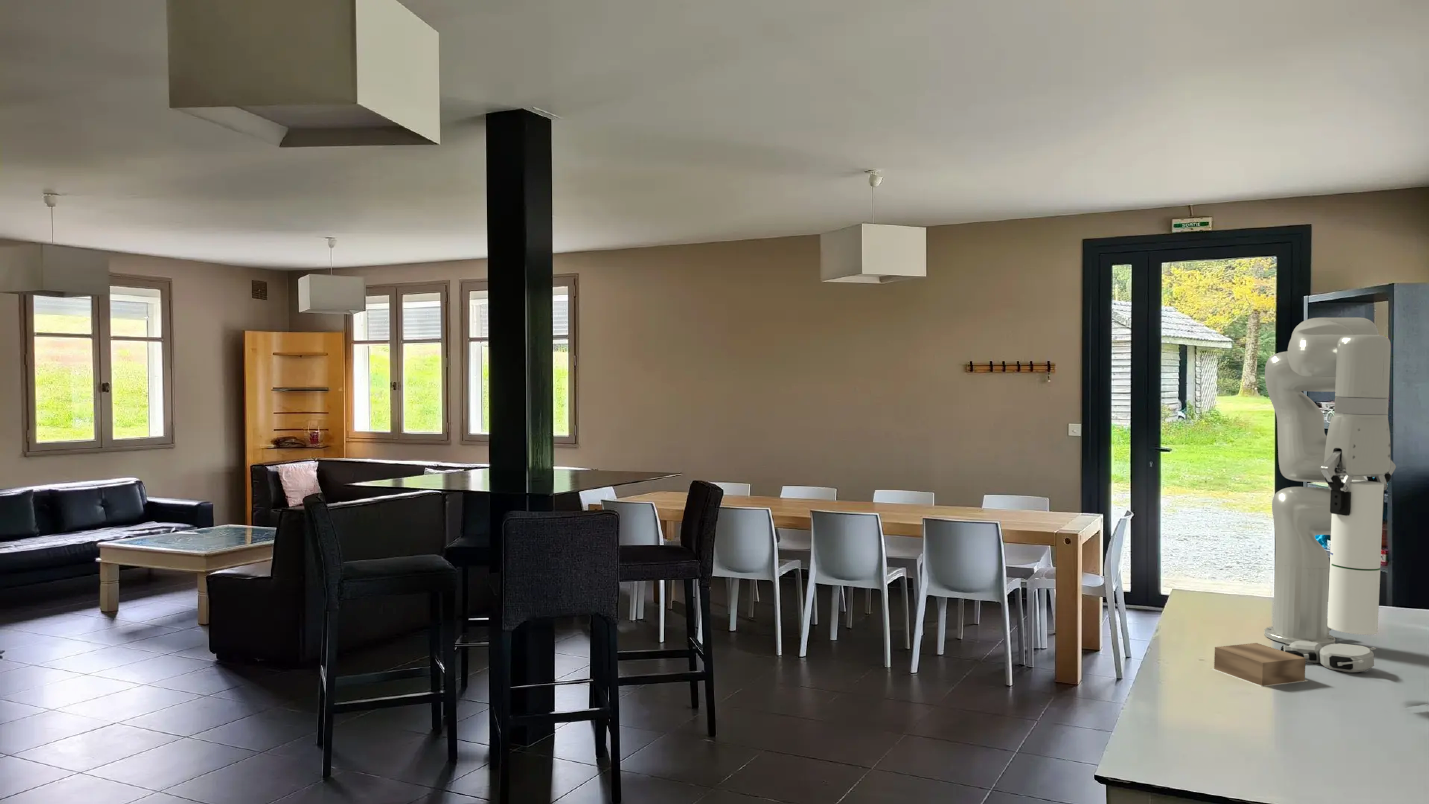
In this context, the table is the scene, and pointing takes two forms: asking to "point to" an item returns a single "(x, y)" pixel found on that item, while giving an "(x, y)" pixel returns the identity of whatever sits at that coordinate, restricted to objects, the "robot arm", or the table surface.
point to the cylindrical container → (1356, 561)
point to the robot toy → (1333, 655)
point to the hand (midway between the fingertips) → (1356, 512)
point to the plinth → (1259, 664)
